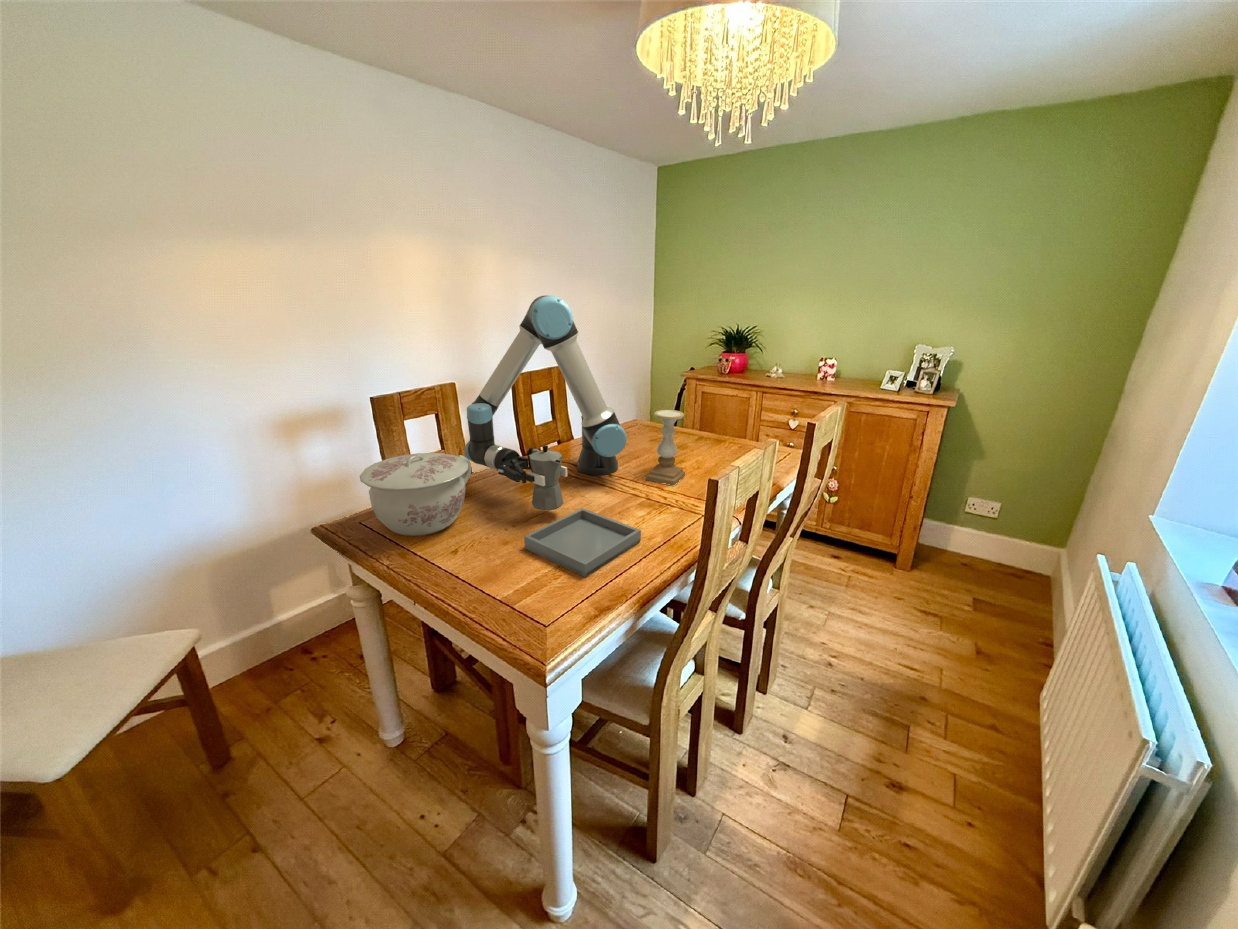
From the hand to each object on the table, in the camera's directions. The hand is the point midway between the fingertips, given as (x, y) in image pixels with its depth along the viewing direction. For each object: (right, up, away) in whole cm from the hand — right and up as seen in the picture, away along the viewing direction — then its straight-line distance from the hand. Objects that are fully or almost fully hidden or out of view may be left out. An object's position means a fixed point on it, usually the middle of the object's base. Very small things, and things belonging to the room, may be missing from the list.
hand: (555, 476), depth 136 cm
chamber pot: (-37, -14, +1) cm, 40 cm away
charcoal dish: (+9, -18, -9) cm, 22 cm away
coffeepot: (-4, -8, +6) cm, 11 cm away
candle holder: (+34, -2, +37) cm, 50 cm away
